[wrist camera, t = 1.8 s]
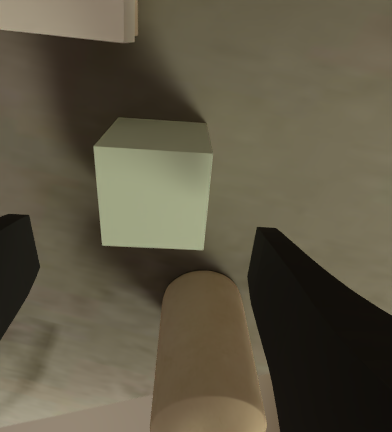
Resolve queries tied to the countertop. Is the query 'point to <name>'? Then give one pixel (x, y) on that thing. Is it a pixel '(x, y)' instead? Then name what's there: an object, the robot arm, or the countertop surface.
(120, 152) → the sage block
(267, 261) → the robot arm
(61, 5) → the tower top
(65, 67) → the countertop surface
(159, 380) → the candle
